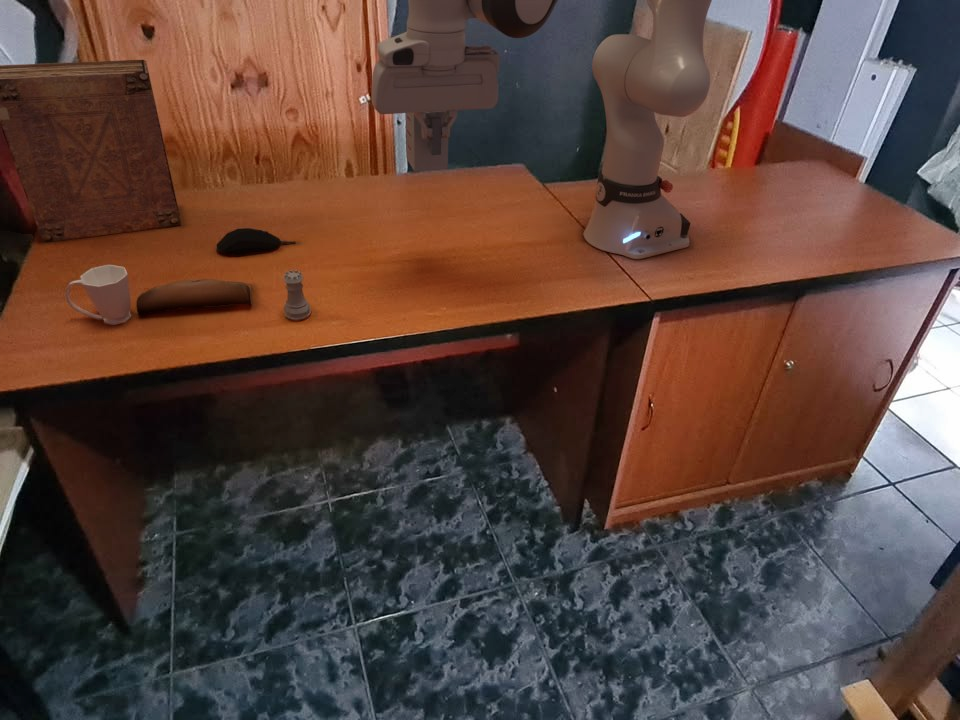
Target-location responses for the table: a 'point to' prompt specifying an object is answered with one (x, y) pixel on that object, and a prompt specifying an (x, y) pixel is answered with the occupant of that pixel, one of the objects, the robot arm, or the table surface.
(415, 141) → the grey box with ridge
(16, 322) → the table surface
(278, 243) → the gaming mouse
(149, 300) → the sunglasses case
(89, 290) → the cup
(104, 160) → the book
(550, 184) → the table surface
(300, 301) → the rook chess piece
